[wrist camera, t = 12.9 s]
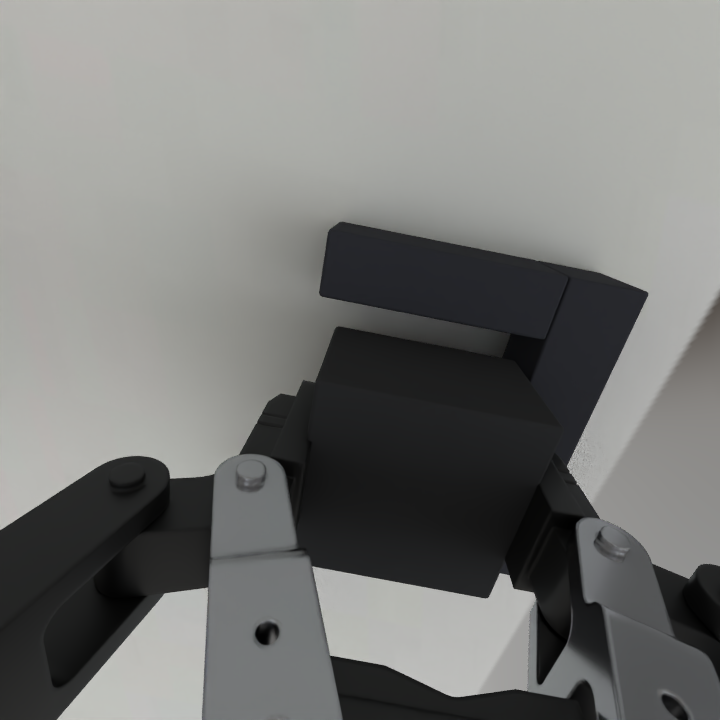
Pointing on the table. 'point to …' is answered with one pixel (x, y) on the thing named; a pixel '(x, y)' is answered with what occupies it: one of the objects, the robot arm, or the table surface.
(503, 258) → the dark u-shaped bracket
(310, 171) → the table surface
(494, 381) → the matte black cube
